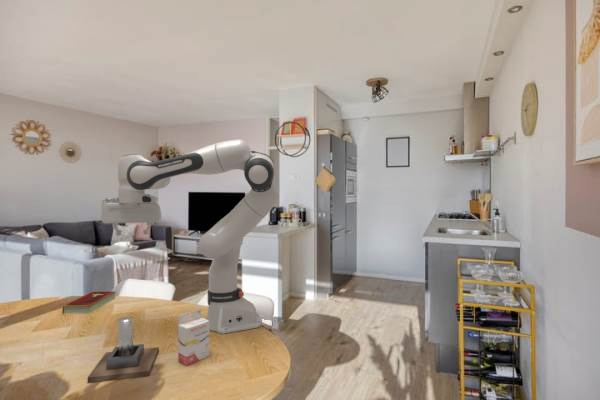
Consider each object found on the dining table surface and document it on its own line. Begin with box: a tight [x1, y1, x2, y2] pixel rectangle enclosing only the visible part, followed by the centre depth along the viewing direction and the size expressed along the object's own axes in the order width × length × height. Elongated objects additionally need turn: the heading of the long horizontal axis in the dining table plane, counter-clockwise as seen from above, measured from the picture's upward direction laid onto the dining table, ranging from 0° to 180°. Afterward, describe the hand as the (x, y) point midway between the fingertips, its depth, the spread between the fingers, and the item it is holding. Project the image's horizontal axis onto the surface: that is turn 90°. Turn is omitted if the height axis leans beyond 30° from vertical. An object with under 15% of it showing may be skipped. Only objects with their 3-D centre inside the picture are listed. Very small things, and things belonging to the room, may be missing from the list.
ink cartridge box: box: [177, 308, 210, 367], centre depth 107 cm, size 9×5×15 cm, turn 141°
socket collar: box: [106, 343, 145, 370], centre depth 103 cm, size 8×8×3 cm
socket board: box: [86, 346, 160, 384], centre depth 103 cm, size 16×15×2 cm
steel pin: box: [117, 316, 134, 357], centre depth 103 cm, size 4×4×13 cm
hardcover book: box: [61, 290, 117, 315], centre depth 157 cm, size 12×21×4 cm, turn 0°
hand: (132, 234), depth 126 cm, fingers open, 8 cm apart
